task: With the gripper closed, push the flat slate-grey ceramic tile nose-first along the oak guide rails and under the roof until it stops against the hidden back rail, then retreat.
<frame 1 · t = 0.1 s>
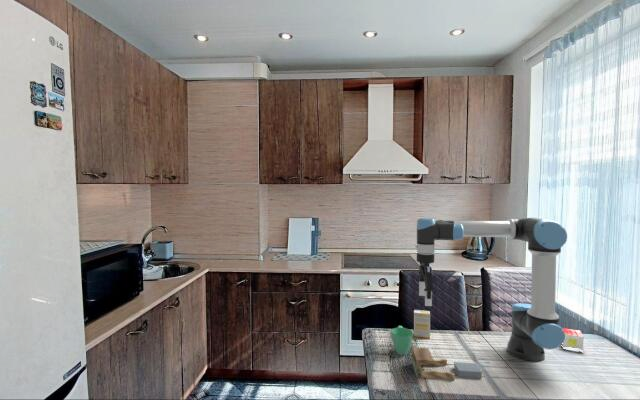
hand: (425, 300, 147), 28 cm above the table, fingers open, 13 cm apart
supplement box: (421, 336, 174), on the table
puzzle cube: (571, 348, 161), on the table
green pitcher: (401, 350, 159), on the table
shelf: (426, 370, 141), on the table
tile: (467, 373, 139), on the table
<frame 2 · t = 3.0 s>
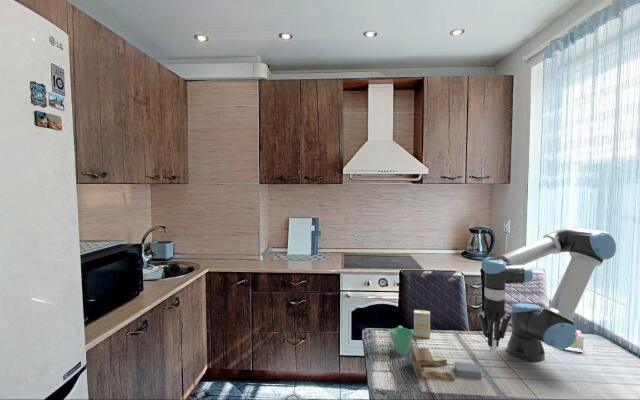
hand: (492, 353, 137), 9 cm above the table, fingers closed
nothing on the table moved.
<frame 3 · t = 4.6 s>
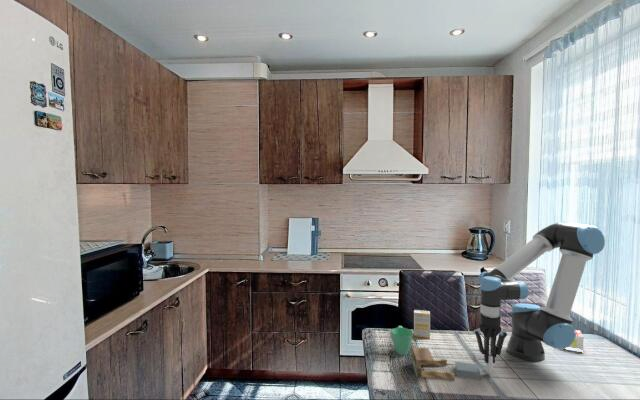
hand: (489, 370, 138), 2 cm above the table, fingers closed
nothing on the table moved.
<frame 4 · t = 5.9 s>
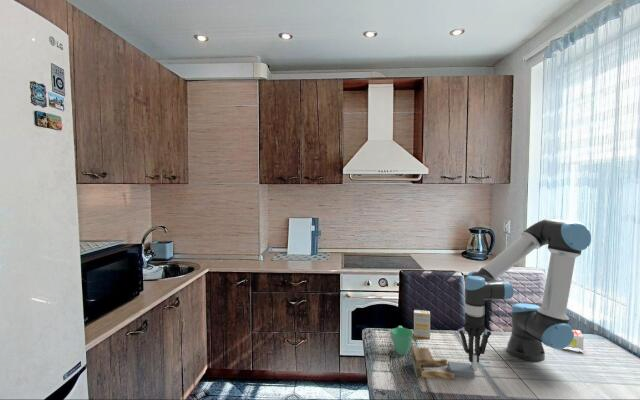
hand: (473, 369, 138), 2 cm above the table, fingers closed
tile: (460, 373, 139), on the table, touching gripper
everything else where it was.
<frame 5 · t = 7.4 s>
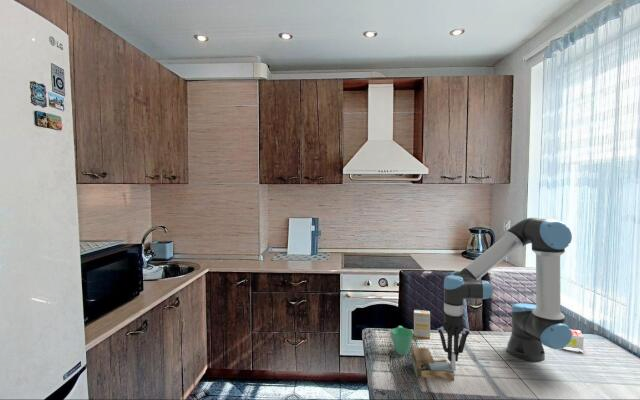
hand: (452, 368, 139), 2 cm above the table, fingers closed
tile: (440, 372, 139), on the table, touching gripper
everything else where it was.
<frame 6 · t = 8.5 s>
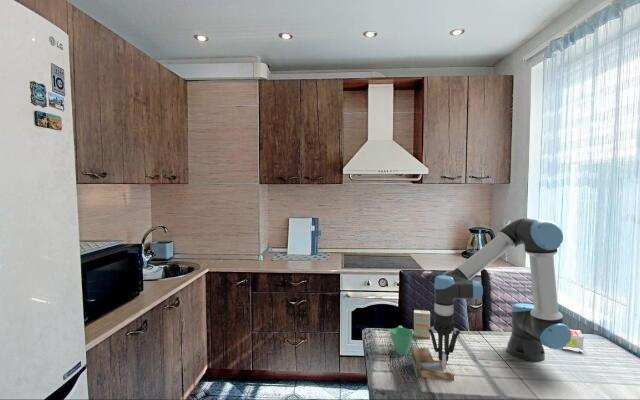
hand: (443, 367, 140), 2 cm above the table, fingers closed
tile: (430, 373, 140), on the table, touching gripper
everything else where it was.
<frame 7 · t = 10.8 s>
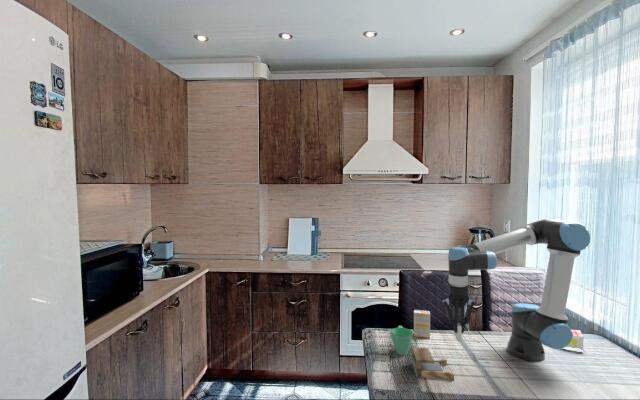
hand: (458, 339, 139), 14 cm above the table, fingers closed
tile: (429, 372, 140), on the table
everything else where it was.
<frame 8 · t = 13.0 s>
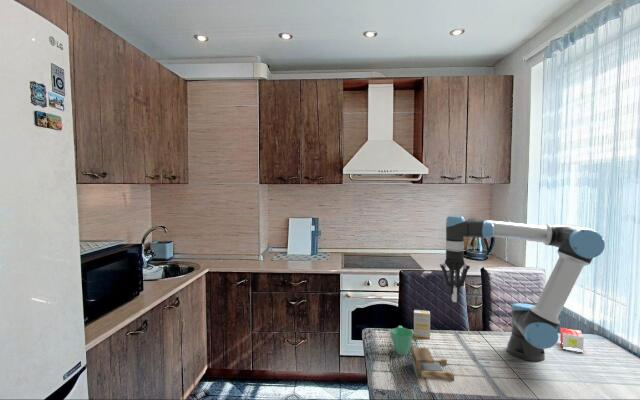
hand: (454, 301, 151), 26 cm above the table, fingers closed
nothing on the table moved.
at the end: tile 1.0 cm from the target spot on the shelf, point 0.0 cm above the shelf's base; the gripper is holding nothing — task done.
